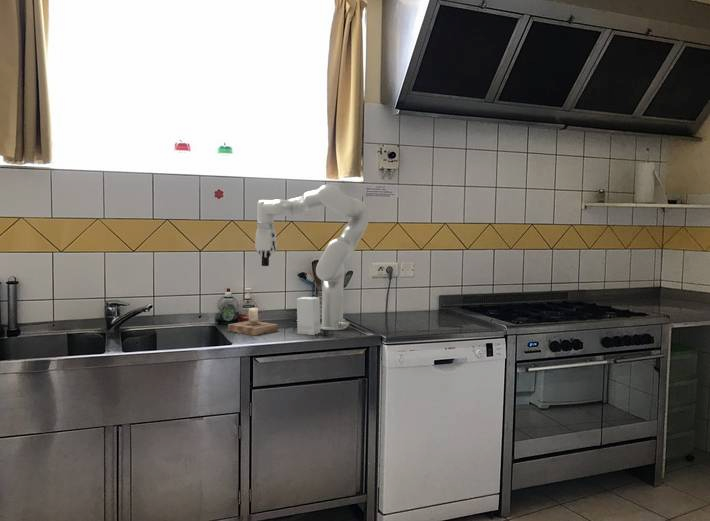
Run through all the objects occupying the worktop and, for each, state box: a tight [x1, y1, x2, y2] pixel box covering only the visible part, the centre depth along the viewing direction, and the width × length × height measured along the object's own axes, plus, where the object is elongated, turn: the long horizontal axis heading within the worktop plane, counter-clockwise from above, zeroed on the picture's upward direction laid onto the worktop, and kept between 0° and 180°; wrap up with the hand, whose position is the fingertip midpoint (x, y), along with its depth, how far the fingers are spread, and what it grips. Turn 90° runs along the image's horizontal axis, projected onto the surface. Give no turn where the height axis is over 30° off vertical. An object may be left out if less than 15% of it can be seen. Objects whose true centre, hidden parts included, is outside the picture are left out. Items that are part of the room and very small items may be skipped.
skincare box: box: [296, 296, 321, 336], centre depth 256 cm, size 8×7×16 cm
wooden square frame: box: [227, 320, 279, 336], centre depth 260 cm, size 16×14×3 cm
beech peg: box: [248, 307, 259, 326], centre depth 260 cm, size 4×4×10 cm
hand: (265, 265), depth 279 cm, fingers closed
